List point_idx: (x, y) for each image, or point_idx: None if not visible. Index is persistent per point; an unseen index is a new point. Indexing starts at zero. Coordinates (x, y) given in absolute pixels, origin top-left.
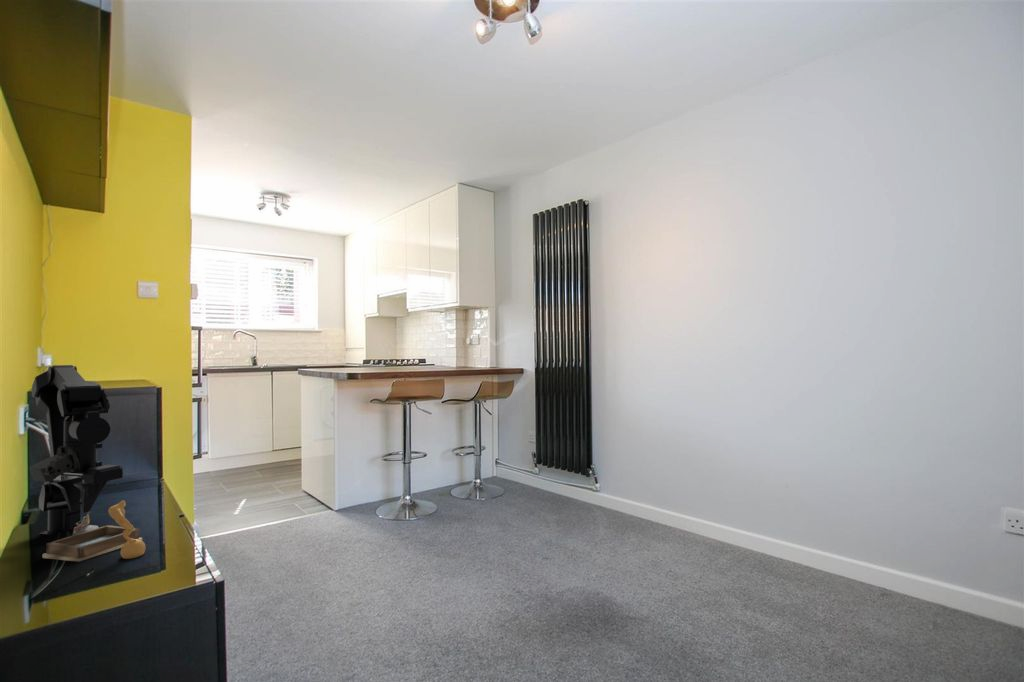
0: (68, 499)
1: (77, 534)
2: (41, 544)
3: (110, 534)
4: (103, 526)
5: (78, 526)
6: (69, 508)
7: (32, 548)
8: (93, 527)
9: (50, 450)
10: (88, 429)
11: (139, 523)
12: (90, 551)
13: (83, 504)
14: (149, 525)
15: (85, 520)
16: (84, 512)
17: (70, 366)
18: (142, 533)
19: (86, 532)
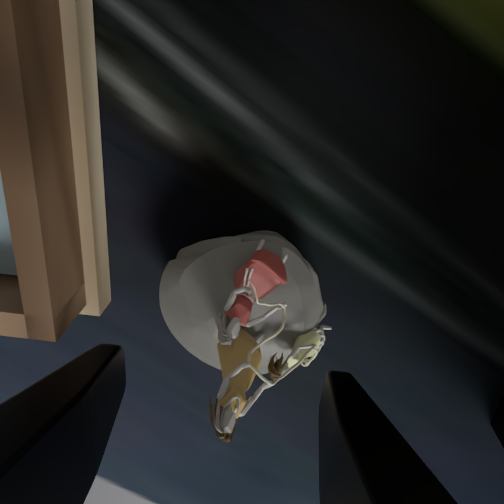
0: (369, 494)
1: (15, 112)
2: (463, 132)
3: (12, 281)
4: (46, 313)
5: (243, 283)
6: (354, 389)
7: (451, 41)
8: (183, 326)
9: None
10: None
11: (199, 496)
12: None
13: (17, 400)
14: (111, 477)
15: (241, 354)
16: (103, 346)
17: None
18: (6, 383)
19: (3, 173)
